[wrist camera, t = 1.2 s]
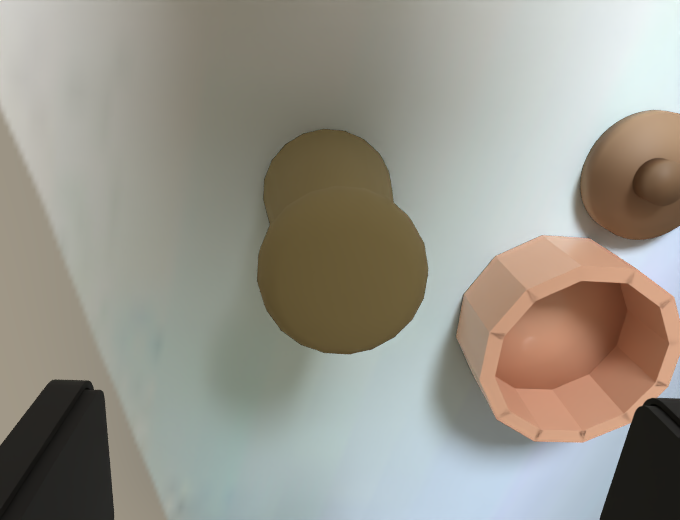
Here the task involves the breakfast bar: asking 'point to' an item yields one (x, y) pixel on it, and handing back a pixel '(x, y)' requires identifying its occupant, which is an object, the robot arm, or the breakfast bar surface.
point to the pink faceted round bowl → (567, 338)
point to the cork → (337, 246)
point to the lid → (635, 176)
